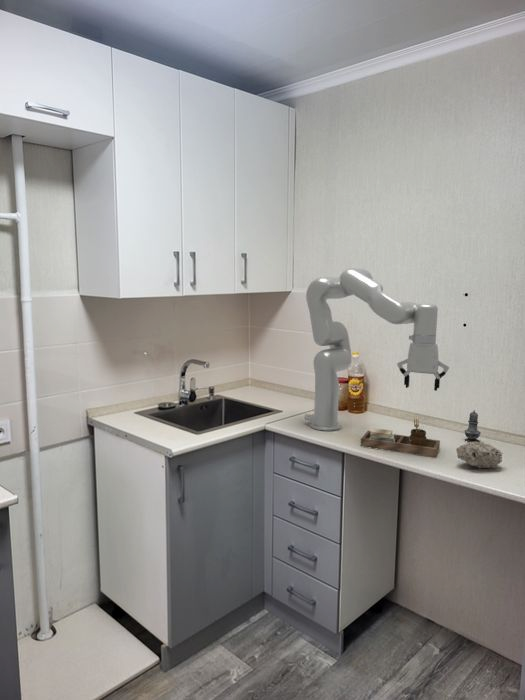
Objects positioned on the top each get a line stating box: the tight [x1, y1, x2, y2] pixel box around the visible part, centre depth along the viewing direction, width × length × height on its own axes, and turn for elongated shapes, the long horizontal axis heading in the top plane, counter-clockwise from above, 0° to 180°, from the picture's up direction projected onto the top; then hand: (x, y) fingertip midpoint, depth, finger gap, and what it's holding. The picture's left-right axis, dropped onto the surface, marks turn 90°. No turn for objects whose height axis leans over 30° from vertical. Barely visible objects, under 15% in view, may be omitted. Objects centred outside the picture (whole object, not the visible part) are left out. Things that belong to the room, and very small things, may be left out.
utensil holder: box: [409, 418, 428, 447], centre depth 190 cm, size 6×6×12 cm
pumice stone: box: [456, 441, 503, 469], centre depth 175 cm, size 14×12×8 cm
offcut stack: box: [369, 427, 395, 442], centre depth 196 cm, size 9×7×5 cm
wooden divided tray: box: [360, 430, 441, 458], centre depth 193 cm, size 26×11×3 cm, turn 66°
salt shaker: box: [463, 409, 481, 443], centre depth 203 cm, size 6×6×12 cm
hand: (421, 388), depth 188 cm, fingers open, 9 cm apart
